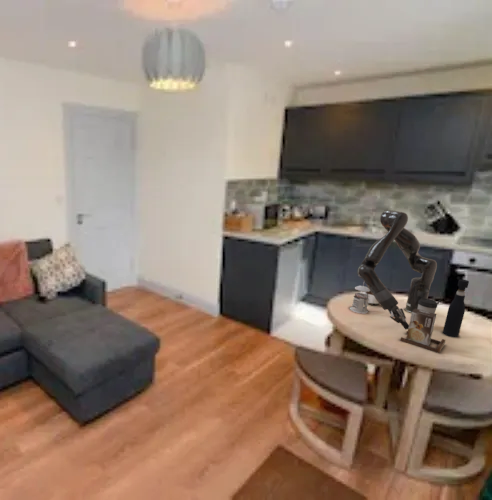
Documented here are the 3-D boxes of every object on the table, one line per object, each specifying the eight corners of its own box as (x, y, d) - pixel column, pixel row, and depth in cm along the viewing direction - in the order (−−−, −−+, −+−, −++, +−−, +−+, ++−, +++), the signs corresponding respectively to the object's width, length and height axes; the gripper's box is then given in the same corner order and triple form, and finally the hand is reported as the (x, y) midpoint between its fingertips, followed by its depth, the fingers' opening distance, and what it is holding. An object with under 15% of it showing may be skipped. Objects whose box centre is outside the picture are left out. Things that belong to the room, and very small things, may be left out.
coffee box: (430, 343, 182) (437, 314, 178) (427, 347, 178) (434, 317, 174) (408, 336, 189) (415, 308, 184) (405, 340, 184) (411, 311, 180)
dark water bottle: (439, 331, 194) (452, 278, 186) (450, 331, 194) (463, 278, 187) (450, 337, 188) (464, 282, 180) (461, 337, 188) (476, 282, 180)
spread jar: (383, 306, 226) (386, 288, 223) (367, 307, 224) (370, 289, 221) (368, 298, 237) (371, 281, 234) (352, 299, 235) (355, 282, 232)
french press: (361, 306, 224) (368, 268, 218) (374, 315, 213) (381, 274, 207) (346, 306, 224) (352, 268, 218) (357, 315, 213) (364, 274, 206)
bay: (406, 333, 192) (407, 328, 191) (444, 345, 180) (445, 339, 180) (400, 340, 185) (401, 335, 184) (439, 353, 173) (440, 347, 172)
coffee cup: (435, 330, 195) (441, 304, 191) (417, 329, 197) (423, 303, 193) (426, 323, 203) (432, 298, 199) (410, 322, 204) (415, 297, 201)
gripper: (388, 298, 184) (411, 329, 179) (396, 292, 193) (419, 322, 187) (374, 305, 190) (397, 335, 184) (382, 298, 198) (404, 327, 192)
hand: (408, 328), depth 186 cm, fingers closed
